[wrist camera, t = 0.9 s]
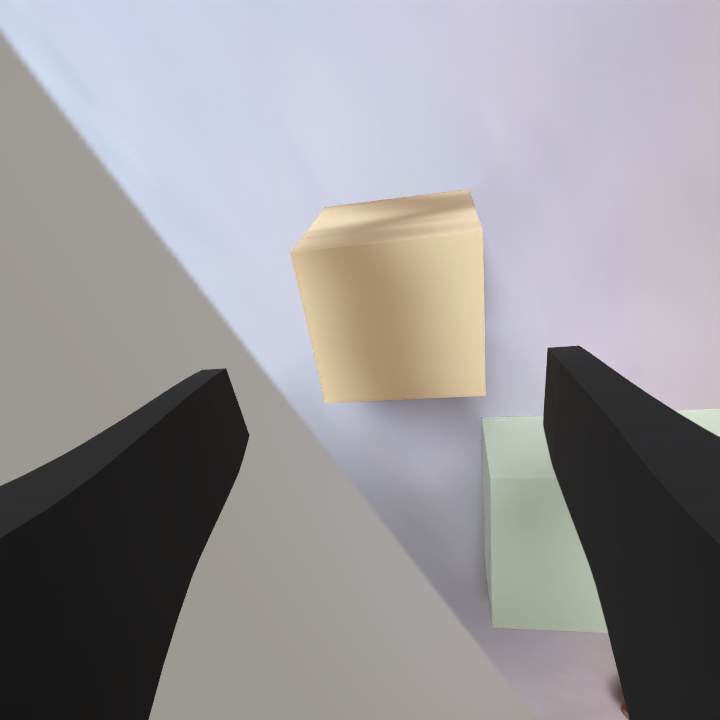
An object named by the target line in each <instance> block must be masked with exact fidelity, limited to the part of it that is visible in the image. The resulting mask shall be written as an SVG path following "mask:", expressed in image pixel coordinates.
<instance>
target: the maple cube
mask: <svg viewBox="0 0 720 720" xmlns="http://www.w3.org/2000/svg"><path fill="white" fill-rule="evenodd" d="M290 253H291V258H292V262H293V266H294V271H295V275H296V279H297V284H298V288H299V292H300V297H301V301H302V305H303V310H304V314H305V318H306V323H307V327H308V331H309V336H310V340H311V344H312V349H313V353H314V357H315V362H316V366H317V370H318V375H319V379H320V383H321V388H322V392H323V396H324V401H325V403H341V402H362V401H384V400H405V399H427V398H449V397H470V396H486V384H485V323H484V262H483V230H482V227H481V224H480V221H479V218H478V215H477V212H476V209H475V206H474V203H473V200H472V197H471V194H470V191H469V189H466V190H459V191H451V192H443V193H435V194H427V195H419V196H411V197H403V198H395V199H387V200H379V201H371V202H363V203H355V204H347V205H339V206H332V207H325V208H324V209H323V211H322V212H321V213H320V215H319V216H318V217H317V218H316V220H315V221H314V222H313V224H312V225H311V226H310V228H309V229H308V230H307V231H306V233H305V234H304V235H303V237H302V238H301V239H300V241H299V242H298V243H297V245H296V246H295V247H294V248H293V250H292V251H291V252H290Z"/></svg>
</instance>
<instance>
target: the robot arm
mask: <svg viewBox="0 0 720 720" xmlns="http://www.w3.org/2000/svg"><path fill="white" fill-rule="evenodd" d="M543 428H544V432H545V437H546V441H547V446H548V450H549V455H550V459H551V463H552V467H553V470H554V472H555V475H556V478H557V481H558V483H559V486H560V489H561V491H562V494H563V497H564V500H565V502H566V505H567V507H568V510H569V513H570V515H571V518H572V521H573V523H574V526H575V529H576V531H577V534H578V537H579V539H580V542H581V545H582V547H583V550H584V553H585V555H586V558H587V561H588V563H589V566H590V570H591V573H592V576H593V579H594V582H595V585H596V588H597V592H598V596H599V600H600V604H601V607H602V611H603V615H604V619H605V623H606V626H607V630H608V634H609V638H610V642H611V646H612V650H613V654H614V658H615V662H616V666H617V670H618V674H619V678H620V682H621V686H622V690H623V694H624V699H625V703H626V707H627V712H628V716H629V720H720V437H719V436H717V435H716V434H714V433H712V432H710V431H708V430H706V429H705V428H703V427H701V426H699V425H698V424H696V423H694V422H693V421H691V420H689V419H688V418H686V417H684V416H683V415H681V414H679V413H678V412H676V411H674V410H673V409H671V408H669V407H668V406H666V405H665V404H663V403H662V402H660V401H658V400H657V399H655V398H654V397H652V396H651V395H649V394H648V393H646V392H645V391H643V390H642V389H640V388H639V387H637V386H636V385H634V384H633V383H631V382H630V381H629V380H627V379H626V378H624V377H623V376H621V375H620V374H619V373H617V372H616V371H614V370H613V369H612V368H610V367H609V366H607V365H606V364H605V363H603V362H602V361H600V360H599V359H598V358H596V357H595V356H593V355H592V354H591V353H589V352H588V351H586V350H585V349H583V348H582V347H580V346H569V347H554V348H548V352H547V368H546V384H545V400H544V416H543ZM248 439H249V433H248V430H247V427H246V425H245V422H244V419H243V416H242V413H241V410H240V407H239V404H238V401H237V399H236V396H235V393H234V390H233V387H232V384H231V382H230V379H229V376H228V373H227V370H226V369H212V370H201V371H200V372H197V373H195V374H193V375H192V376H190V377H188V378H186V379H185V380H183V381H181V382H180V383H178V384H177V385H175V386H174V387H172V388H170V389H169V390H167V391H166V392H164V393H163V394H161V395H160V396H158V397H156V398H155V399H153V400H152V401H150V402H149V403H147V404H146V405H144V406H143V407H141V408H140V409H138V410H137V411H135V412H133V413H132V414H130V415H129V416H127V417H126V418H124V419H123V420H121V421H119V422H118V423H116V424H115V425H113V426H111V427H109V428H108V429H106V430H105V431H103V432H101V433H100V434H98V435H97V436H95V437H93V438H92V439H90V440H88V441H87V442H85V443H83V444H82V445H80V446H78V447H76V448H75V449H73V450H71V451H69V452H68V453H66V454H64V455H62V456H60V457H58V458H57V459H55V460H53V461H51V462H49V463H47V464H45V465H43V466H41V467H39V468H37V469H35V470H33V471H31V472H29V473H27V474H25V475H23V476H21V477H19V478H17V479H15V480H13V481H11V482H8V483H6V484H4V485H2V486H0V720H148V719H149V715H150V712H151V708H152V705H153V701H154V697H155V694H156V690H157V686H158V682H159V679H160V675H161V672H162V668H163V665H164V661H165V658H166V655H167V652H168V648H169V645H170V642H171V639H172V635H173V632H174V629H175V625H176V622H177V619H178V616H179V613H180V611H181V607H182V604H183V602H184V599H185V596H186V593H187V590H188V587H189V584H190V581H191V578H192V575H193V573H194V571H195V568H196V566H197V563H198V561H199V558H200V556H201V554H202V552H203V550H204V547H205V545H206V543H207V541H208V538H209V537H210V535H211V532H212V530H213V528H214V526H215V524H216V521H217V519H218V517H219V515H220V513H221V511H222V508H223V506H224V504H225V502H226V500H227V498H228V496H229V493H230V491H231V489H232V487H233V484H234V482H235V480H236V478H237V475H238V473H239V470H240V467H241V463H242V460H243V457H244V453H245V450H246V446H247V443H248Z"/></svg>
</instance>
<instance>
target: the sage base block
mask: <svg viewBox="0 0 720 720" xmlns="http://www.w3.org/2000/svg"><path fill="white" fill-rule="evenodd" d="M675 411H676V412H678V413H679V414H681V415H683V416H684V417H686V418H688V419H689V420H691V421H693V422H694V423H696V424H698V425H699V426H701V427H703V428H705V429H706V430H708V431H710V432H712V433H714V434H716V435H717V436H719V437H720V409H701V410H675ZM543 416H544V415H541V416H514V417H487V418H482V459H483V504H484V550H485V568H486V577H487V587H488V596H489V605H490V614H491V623H492V628H509V629H531V630H554V631H576V632H599V633H608V630H607V626H606V623H605V619H604V615H603V611H602V607H601V604H600V600H599V596H598V592H597V588H596V585H595V582H594V579H593V576H592V573H591V570H590V566H589V563H588V561H587V558H586V555H585V553H584V550H583V547H582V545H581V542H580V539H579V537H578V534H577V531H576V529H575V526H574V523H573V521H572V518H571V515H570V513H569V510H568V507H567V505H566V502H565V500H564V497H563V494H562V491H561V489H560V486H559V483H558V481H557V478H556V475H555V472H554V470H553V467H552V463H551V459H550V455H549V450H548V446H547V441H546V437H545V432H544V428H543Z"/></svg>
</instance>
